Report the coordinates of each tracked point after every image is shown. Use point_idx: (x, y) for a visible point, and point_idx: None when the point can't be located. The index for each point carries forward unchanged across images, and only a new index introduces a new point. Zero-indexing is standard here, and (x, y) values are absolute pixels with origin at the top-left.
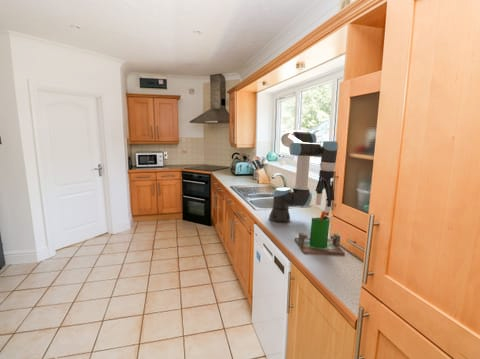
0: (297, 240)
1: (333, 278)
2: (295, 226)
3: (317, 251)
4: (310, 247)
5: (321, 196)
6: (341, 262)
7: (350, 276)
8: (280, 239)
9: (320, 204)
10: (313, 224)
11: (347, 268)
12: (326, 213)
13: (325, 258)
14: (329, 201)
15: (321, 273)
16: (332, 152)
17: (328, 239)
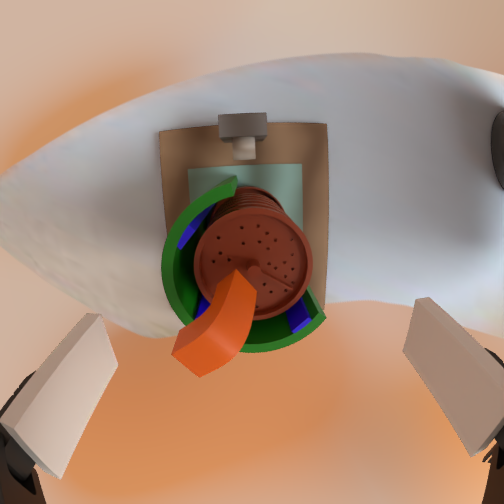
0: (289, 126)
1: (26, 207)
2: (467, 193)
3: (165, 196)
4: (200, 171)
5: (456, 428)
6: (117, 273)
7: (45, 263)
8: (319, 60)
9: (405, 354)
10: (207, 191)
11: (83, 276)
12: (179, 340)
13: (135, 221)
14: (1, 427)
15: (40, 176)
16: None
17: (315, 296)
